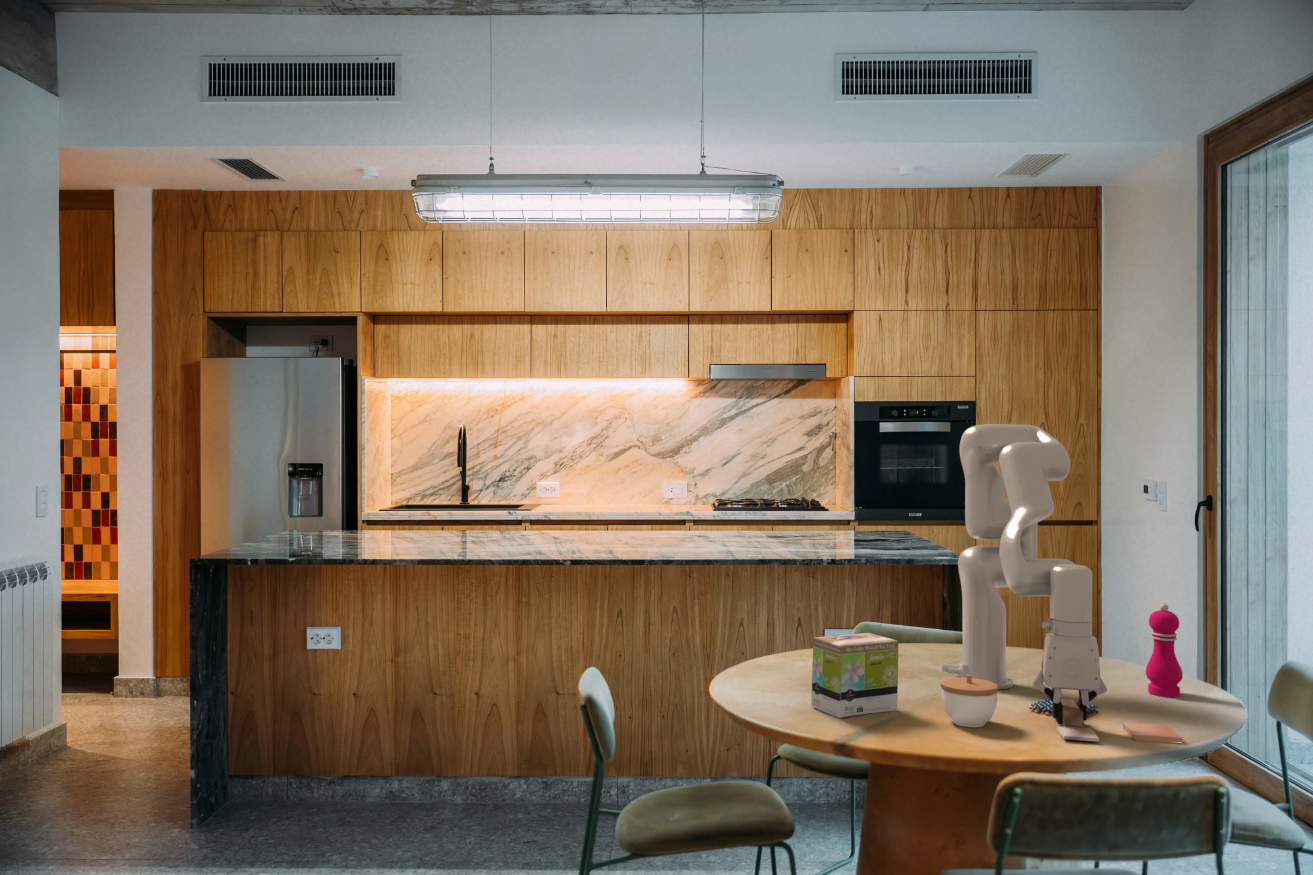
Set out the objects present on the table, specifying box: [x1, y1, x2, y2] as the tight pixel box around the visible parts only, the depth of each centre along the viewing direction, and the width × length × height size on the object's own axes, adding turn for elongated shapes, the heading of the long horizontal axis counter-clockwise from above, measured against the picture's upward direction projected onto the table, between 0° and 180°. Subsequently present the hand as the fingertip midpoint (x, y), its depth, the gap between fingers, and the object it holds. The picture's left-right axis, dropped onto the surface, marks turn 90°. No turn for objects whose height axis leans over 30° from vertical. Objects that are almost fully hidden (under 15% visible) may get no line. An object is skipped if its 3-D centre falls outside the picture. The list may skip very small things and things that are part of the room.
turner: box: [1056, 698, 1100, 742], centre depth 182 cm, size 6×15×4 cm, turn 168°
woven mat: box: [1028, 697, 1099, 717], centre depth 195 cm, size 10×11×2 cm
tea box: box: [810, 632, 900, 719], centre depth 196 cm, size 15×10×15 cm
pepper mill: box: [1145, 603, 1184, 698], centre depth 211 cm, size 7×7×20 cm
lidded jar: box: [940, 675, 999, 728], centre depth 187 cm, size 11×11×9 cm
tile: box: [1122, 722, 1183, 743], centre depth 179 cm, size 8×2×8 cm
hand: (1069, 722), depth 184 cm, fingers closed on turner, 3 cm apart
